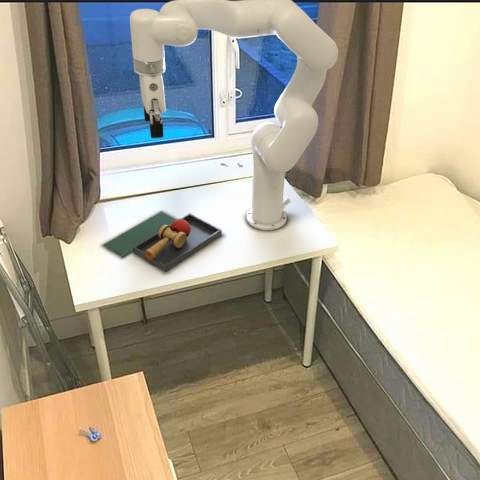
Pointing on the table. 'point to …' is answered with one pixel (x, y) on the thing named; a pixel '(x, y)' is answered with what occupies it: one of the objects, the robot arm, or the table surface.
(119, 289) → the table surface
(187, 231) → the kendama
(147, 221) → the mat
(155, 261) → the dark grey flat tray
